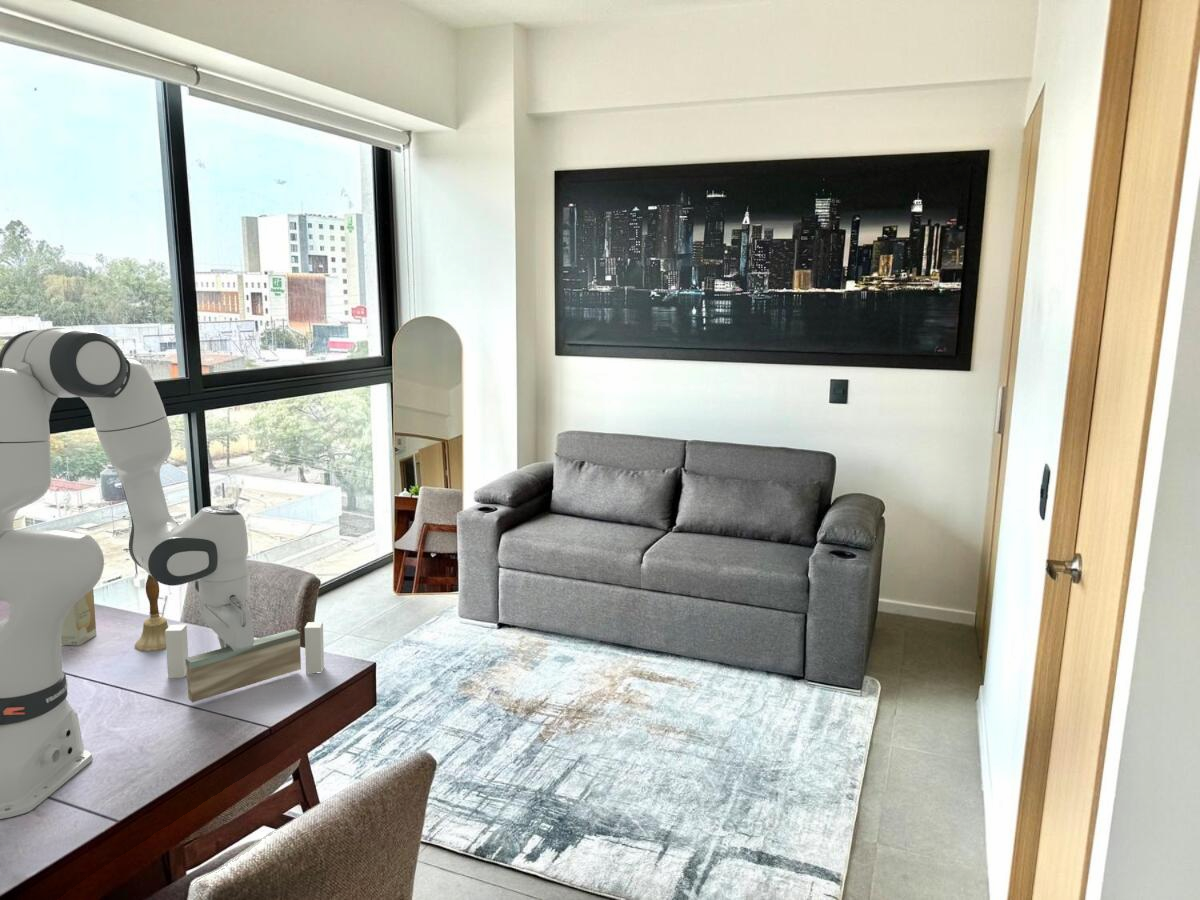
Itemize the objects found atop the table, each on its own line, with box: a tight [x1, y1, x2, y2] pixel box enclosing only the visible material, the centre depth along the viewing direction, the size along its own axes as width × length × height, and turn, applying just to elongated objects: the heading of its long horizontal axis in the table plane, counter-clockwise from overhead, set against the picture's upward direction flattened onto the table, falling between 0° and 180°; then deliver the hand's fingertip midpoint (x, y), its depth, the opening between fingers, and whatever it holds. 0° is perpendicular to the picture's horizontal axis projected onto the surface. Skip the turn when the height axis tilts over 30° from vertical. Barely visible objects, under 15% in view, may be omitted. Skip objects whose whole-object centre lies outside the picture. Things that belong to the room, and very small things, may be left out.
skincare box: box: [61, 588, 97, 646], centre depth 180 cm, size 6×4×12 cm
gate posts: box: [165, 621, 325, 679], centre depth 167 cm, size 3×30×10 cm, turn 98°
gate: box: [185, 628, 302, 703], centre depth 161 cm, size 3×21×8 cm, turn 136°
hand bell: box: [134, 574, 169, 652], centre depth 179 cm, size 8×8×16 cm
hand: (228, 656), depth 161 cm, fingers closed
